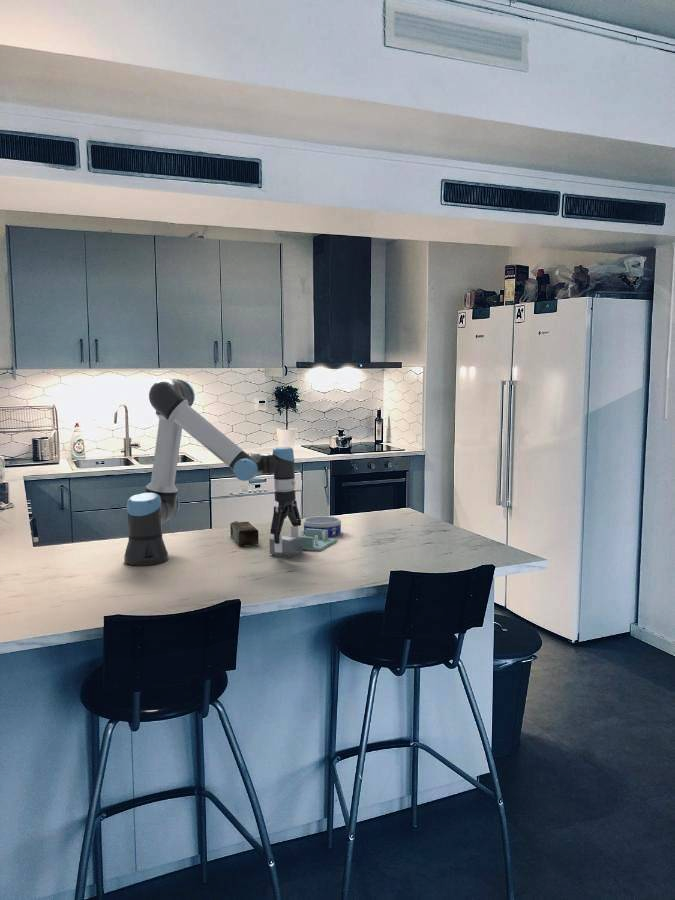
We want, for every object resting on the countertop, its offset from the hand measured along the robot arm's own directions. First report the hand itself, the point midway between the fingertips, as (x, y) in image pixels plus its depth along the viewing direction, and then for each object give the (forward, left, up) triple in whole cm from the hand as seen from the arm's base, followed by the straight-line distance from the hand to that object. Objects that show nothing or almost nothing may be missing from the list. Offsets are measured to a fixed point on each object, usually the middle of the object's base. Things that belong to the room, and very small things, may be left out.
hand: (287, 547), depth 264 cm
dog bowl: (-1, +35, -3) cm, 35 cm away
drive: (0, 0, -3) cm, 3 cm away
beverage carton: (-26, +14, -3) cm, 29 cm away
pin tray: (+2, +16, -2) cm, 16 cm away
